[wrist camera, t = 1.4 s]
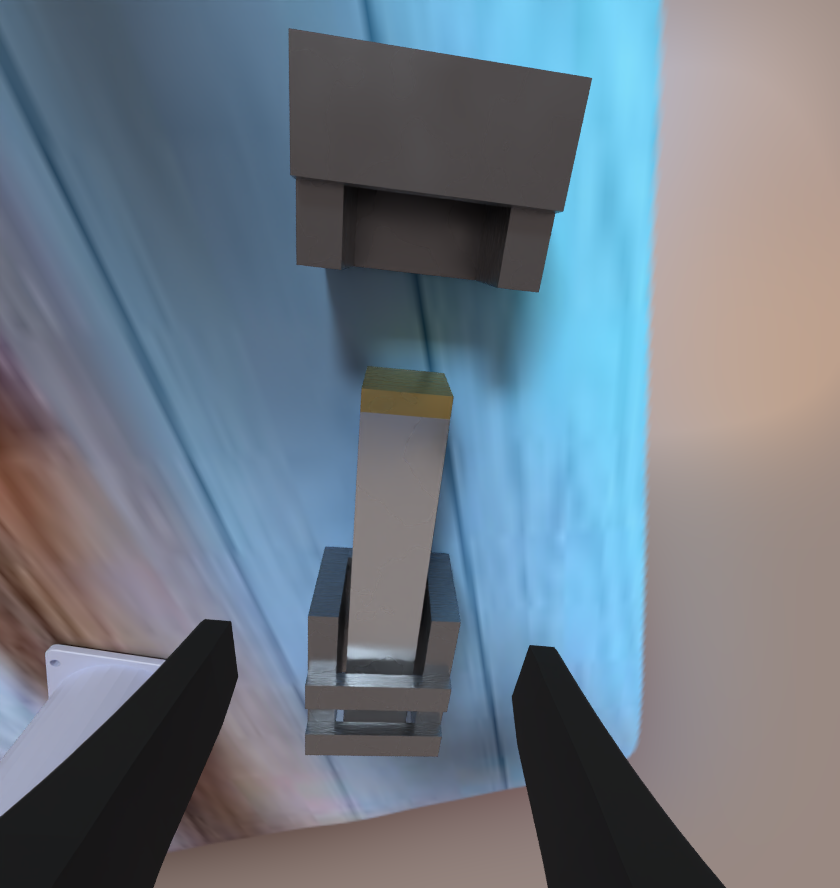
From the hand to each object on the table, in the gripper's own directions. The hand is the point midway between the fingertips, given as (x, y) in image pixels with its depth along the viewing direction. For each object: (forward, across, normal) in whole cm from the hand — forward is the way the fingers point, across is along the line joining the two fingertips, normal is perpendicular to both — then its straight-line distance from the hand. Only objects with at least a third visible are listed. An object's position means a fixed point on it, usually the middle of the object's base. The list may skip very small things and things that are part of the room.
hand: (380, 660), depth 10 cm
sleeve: (+9, 0, +9) cm, 13 cm away
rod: (+9, 0, +5) cm, 10 cm away
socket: (+11, 0, -10) cm, 15 cm away
